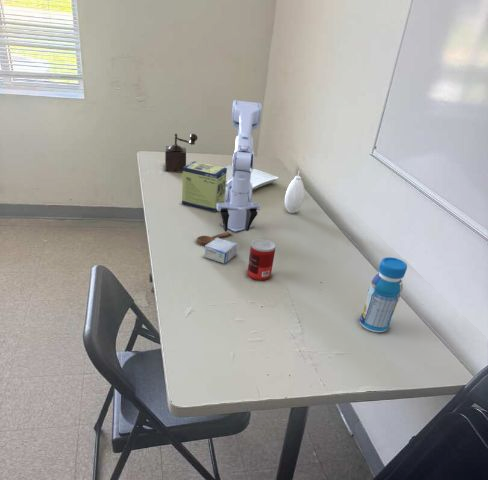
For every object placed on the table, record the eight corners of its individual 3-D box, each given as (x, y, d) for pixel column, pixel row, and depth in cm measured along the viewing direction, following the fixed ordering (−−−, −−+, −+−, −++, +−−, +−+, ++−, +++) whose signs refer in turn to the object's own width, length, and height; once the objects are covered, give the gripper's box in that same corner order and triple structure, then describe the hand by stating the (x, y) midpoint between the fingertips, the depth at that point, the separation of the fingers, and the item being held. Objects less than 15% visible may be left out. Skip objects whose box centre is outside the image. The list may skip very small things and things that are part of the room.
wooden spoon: (224, 231, 167) (224, 229, 166) (233, 237, 164) (234, 234, 164) (193, 241, 158) (193, 238, 157) (203, 246, 155) (203, 243, 154)
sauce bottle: (292, 217, 186) (299, 174, 176) (279, 210, 191) (285, 168, 180) (304, 213, 191) (312, 171, 180) (291, 207, 195) (298, 166, 185)
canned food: (273, 272, 145) (278, 242, 139) (266, 283, 139) (271, 252, 133) (251, 267, 147) (255, 236, 140) (243, 277, 141) (247, 246, 134)
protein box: (215, 212, 182) (218, 174, 173) (181, 204, 185) (182, 166, 176) (224, 204, 190) (227, 167, 181) (191, 196, 193) (192, 160, 184)
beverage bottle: (370, 335, 122) (392, 272, 110) (353, 318, 128) (371, 256, 116) (394, 330, 125) (418, 268, 113) (376, 314, 131) (396, 253, 119)
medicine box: (216, 248, 155) (203, 257, 149) (217, 236, 153) (204, 245, 146) (236, 254, 153) (224, 264, 146) (237, 243, 150) (225, 252, 144)
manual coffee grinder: (164, 171, 217) (164, 132, 206) (164, 164, 226) (164, 127, 215) (196, 173, 219) (197, 135, 209) (195, 166, 228) (196, 129, 218)
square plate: (235, 170, 231) (235, 162, 229) (278, 184, 219) (280, 176, 217) (201, 180, 212) (201, 172, 210) (247, 196, 201) (248, 188, 198)
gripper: (221, 195, 137) (218, 235, 145) (265, 195, 142) (259, 234, 150) (216, 187, 143) (213, 226, 151) (258, 187, 147) (253, 225, 155)
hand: (236, 230), depth 150 cm, fingers open, 7 cm apart
